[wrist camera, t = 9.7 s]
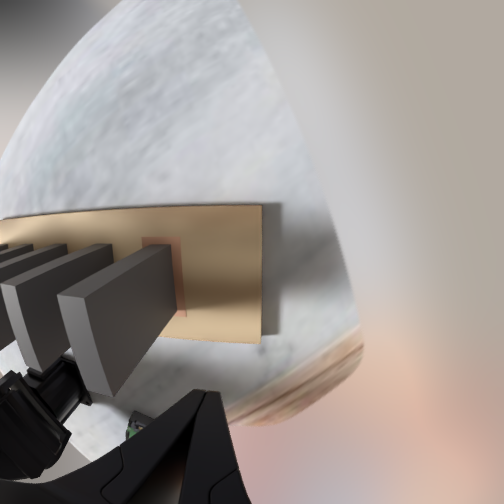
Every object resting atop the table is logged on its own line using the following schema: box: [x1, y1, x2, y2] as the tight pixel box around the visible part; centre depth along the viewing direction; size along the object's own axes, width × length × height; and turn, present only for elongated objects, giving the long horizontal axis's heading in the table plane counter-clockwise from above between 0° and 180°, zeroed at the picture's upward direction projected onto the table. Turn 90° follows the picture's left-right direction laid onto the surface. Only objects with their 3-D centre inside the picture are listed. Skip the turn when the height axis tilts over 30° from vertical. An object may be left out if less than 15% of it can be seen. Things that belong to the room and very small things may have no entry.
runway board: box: [0, 205, 262, 344], centre depth 21 cm, size 10×29×1 cm, turn 90°
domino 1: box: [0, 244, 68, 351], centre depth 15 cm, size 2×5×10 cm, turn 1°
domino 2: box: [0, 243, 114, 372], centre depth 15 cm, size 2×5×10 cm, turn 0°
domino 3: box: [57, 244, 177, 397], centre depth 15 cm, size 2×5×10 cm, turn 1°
